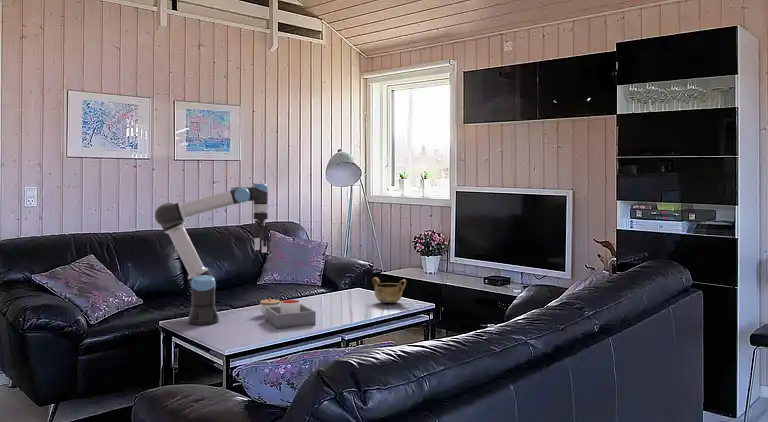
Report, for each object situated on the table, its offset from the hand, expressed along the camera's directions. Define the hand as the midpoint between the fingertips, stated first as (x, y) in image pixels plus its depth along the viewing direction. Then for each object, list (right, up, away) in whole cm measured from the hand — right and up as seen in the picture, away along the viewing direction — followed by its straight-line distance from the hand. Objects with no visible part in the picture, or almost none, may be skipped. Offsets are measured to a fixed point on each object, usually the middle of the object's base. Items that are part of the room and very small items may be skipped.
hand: (260, 251), depth 356 cm
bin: (+19, -36, -18) cm, 44 cm away
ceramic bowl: (+70, -34, +36) cm, 85 cm away
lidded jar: (+5, -35, 0) cm, 35 cm away
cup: (+19, -35, -18) cm, 43 cm away
